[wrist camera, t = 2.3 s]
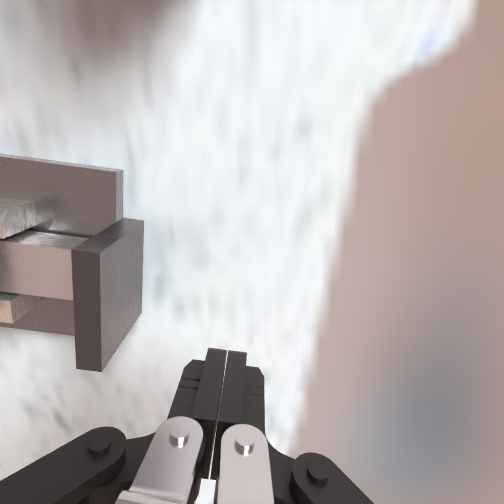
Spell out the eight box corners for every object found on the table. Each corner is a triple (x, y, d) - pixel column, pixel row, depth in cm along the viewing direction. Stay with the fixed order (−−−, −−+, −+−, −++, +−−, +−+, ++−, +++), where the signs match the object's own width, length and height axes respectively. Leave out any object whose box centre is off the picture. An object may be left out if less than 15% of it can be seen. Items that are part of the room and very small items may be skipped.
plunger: (-18, 199, 20) (-124, 224, 14) (143, 220, 20) (99, 253, 14) (-6, 294, 22) (-95, 347, 16) (141, 312, 22) (101, 371, 16)
